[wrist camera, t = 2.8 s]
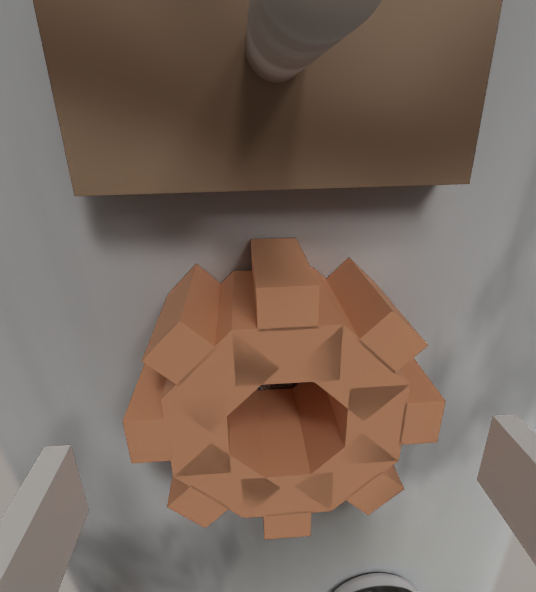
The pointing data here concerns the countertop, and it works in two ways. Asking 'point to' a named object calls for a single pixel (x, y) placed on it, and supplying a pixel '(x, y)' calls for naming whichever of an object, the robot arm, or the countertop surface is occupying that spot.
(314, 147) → the gear board
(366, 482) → the rust gear
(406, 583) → the pill bottle
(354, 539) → the countertop surface
